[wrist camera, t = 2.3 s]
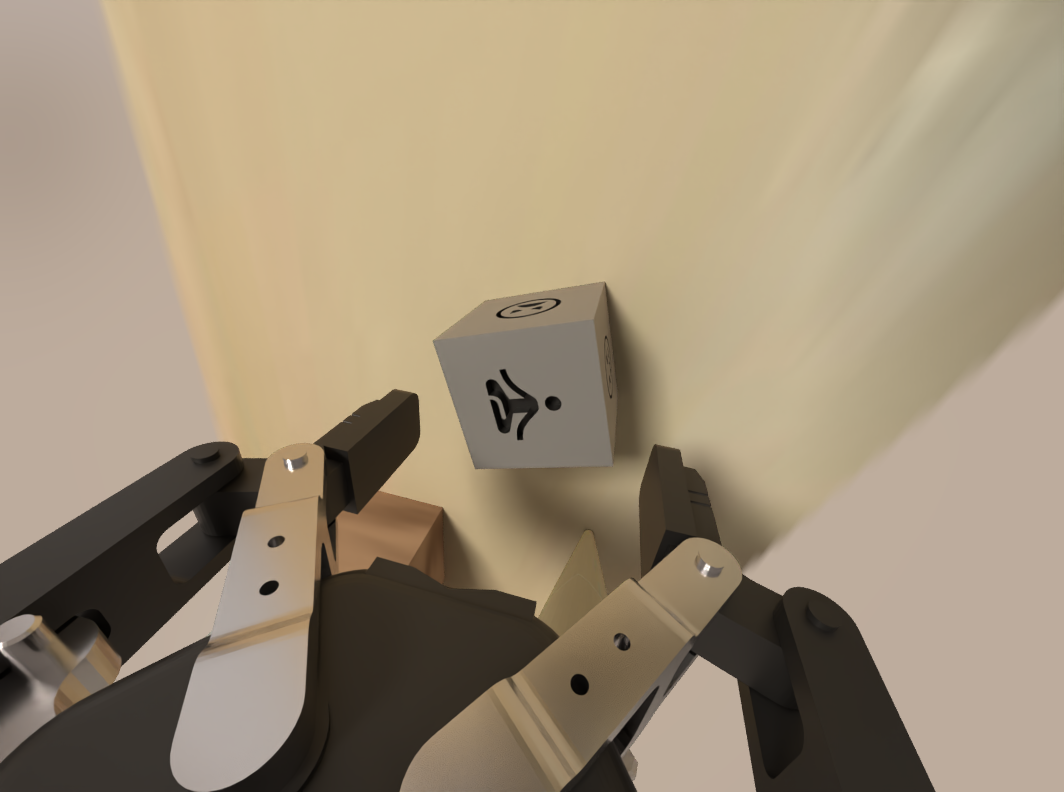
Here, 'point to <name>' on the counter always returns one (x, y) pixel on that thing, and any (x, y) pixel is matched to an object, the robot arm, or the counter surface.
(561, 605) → the ice cream cone
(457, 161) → the counter surface
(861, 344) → the counter surface
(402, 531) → the tower base
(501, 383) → the dice cube
